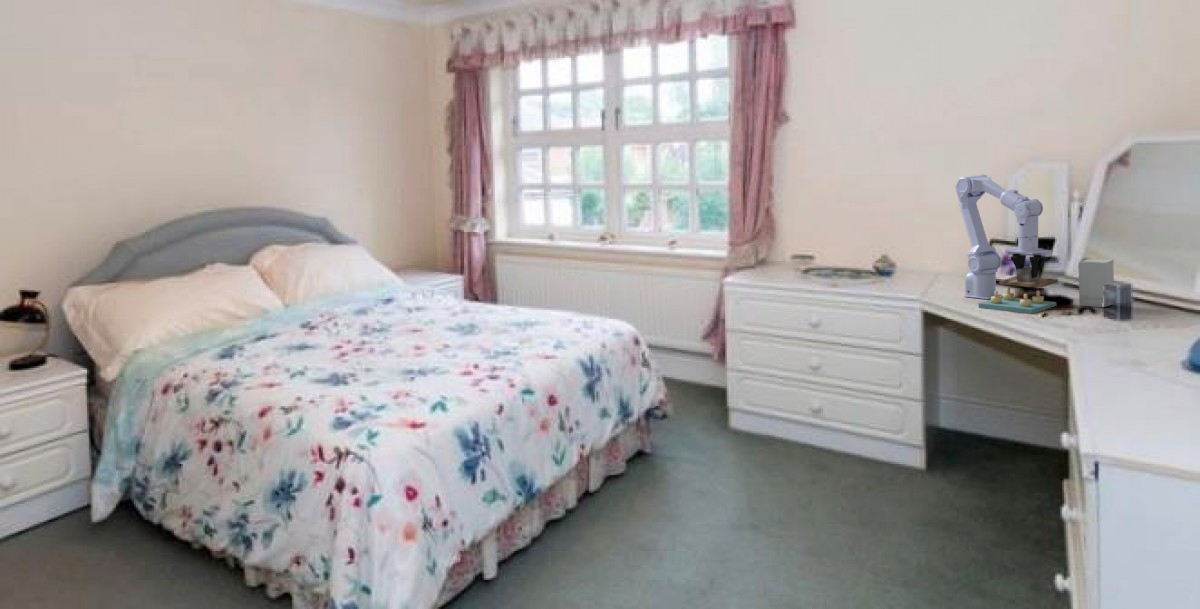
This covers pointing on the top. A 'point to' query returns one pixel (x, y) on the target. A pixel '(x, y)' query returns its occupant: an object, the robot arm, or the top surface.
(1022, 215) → the robot arm
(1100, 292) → the skincare box
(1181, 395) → the top surface
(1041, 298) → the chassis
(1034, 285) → the board
